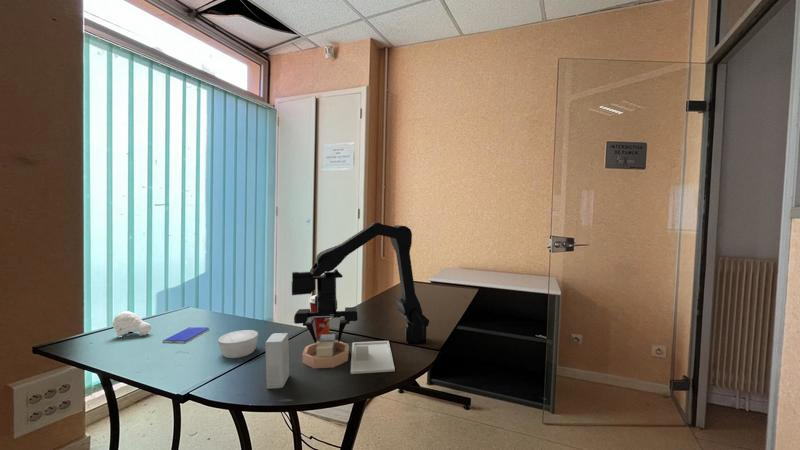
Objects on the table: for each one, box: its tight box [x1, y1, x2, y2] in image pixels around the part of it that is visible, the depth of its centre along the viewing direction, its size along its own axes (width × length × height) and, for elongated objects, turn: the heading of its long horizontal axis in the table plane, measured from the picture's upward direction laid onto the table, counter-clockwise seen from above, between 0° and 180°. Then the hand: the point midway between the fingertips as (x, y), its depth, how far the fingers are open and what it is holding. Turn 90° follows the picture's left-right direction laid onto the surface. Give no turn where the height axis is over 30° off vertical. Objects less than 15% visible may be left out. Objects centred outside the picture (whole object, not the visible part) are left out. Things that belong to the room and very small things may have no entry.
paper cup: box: [308, 294, 331, 338], centre depth 117 cm, size 8×8×14 cm
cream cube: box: [316, 341, 334, 357], centre depth 95 cm, size 4×4×5 cm
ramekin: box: [217, 329, 259, 359], centre depth 104 cm, size 11×11×5 cm
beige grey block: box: [356, 346, 369, 361], centre depth 99 cm, size 4×5×2 cm
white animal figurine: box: [111, 310, 152, 337], centre depth 118 cm, size 6×8×12 cm
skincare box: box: [264, 332, 290, 390], centre depth 85 cm, size 6×4×12 cm
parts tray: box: [350, 340, 395, 375], centre depth 99 cm, size 12×20×1 cm, turn 7°
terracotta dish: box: [302, 339, 350, 369], centre depth 98 cm, size 13×13×3 cm
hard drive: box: [162, 326, 210, 344], centre depth 117 cm, size 2×8×12 cm
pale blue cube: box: [318, 333, 336, 355], centre depth 101 cm, size 4×4×5 cm
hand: (327, 342), depth 101 cm, fingers open, 7 cm apart
